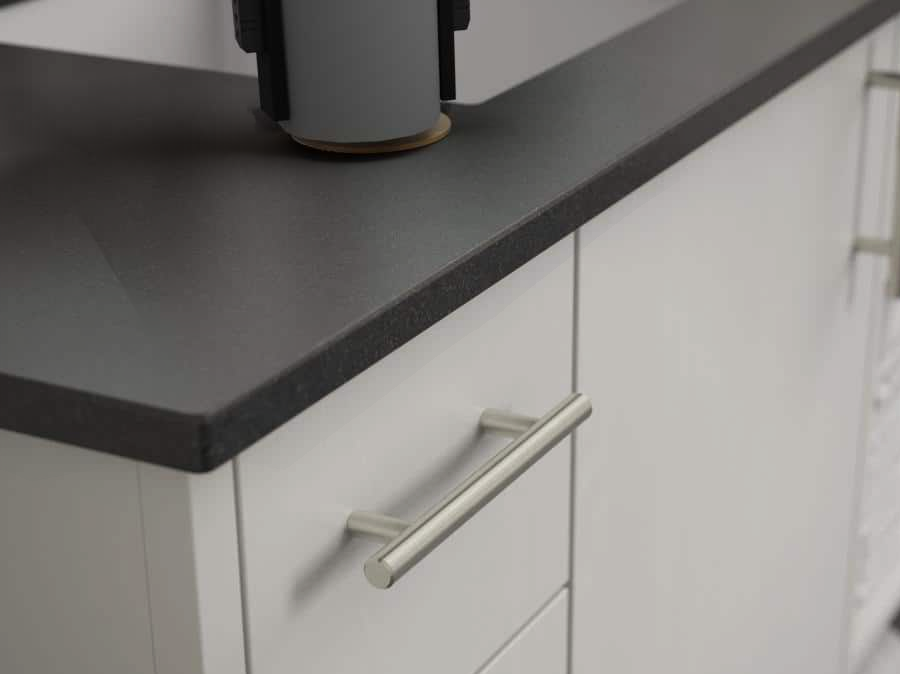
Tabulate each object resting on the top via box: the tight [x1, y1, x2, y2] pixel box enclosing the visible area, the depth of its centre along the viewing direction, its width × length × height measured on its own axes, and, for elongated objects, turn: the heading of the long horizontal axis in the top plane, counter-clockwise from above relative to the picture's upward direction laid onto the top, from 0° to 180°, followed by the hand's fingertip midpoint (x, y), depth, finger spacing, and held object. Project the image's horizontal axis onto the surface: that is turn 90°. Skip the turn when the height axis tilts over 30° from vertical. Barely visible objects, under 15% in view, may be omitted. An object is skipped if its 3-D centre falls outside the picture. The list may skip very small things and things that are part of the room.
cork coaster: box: [291, 111, 452, 154], centre depth 87 cm, size 9×9×1 cm
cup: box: [277, 0, 441, 143], centre depth 83 cm, size 8×8×10 cm
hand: (358, 103), depth 85 cm, fingers closed on cup, 8 cm apart
